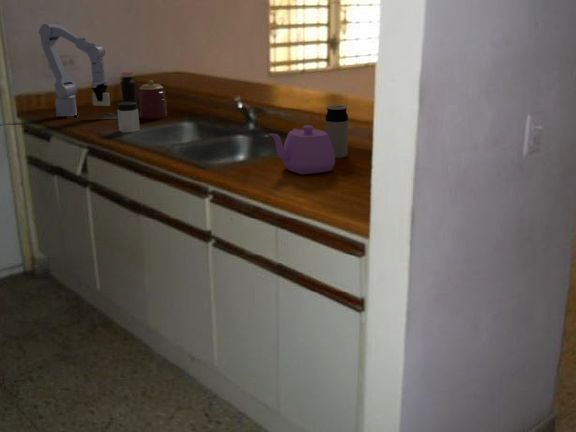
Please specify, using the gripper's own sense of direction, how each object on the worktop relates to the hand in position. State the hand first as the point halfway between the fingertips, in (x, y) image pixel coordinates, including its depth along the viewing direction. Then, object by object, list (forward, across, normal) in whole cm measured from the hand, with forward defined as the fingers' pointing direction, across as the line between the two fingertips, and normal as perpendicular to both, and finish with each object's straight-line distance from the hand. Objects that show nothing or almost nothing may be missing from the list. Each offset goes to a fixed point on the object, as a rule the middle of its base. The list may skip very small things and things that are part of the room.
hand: (100, 100), depth 324 cm
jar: (+8, -28, -24) cm, 38 cm away
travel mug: (+7, -66, -118) cm, 135 cm away
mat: (+8, +2, +1) cm, 9 cm away
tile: (+2, 0, 0) cm, 2 cm away
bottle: (+8, +15, -8) cm, 19 cm away
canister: (+8, +4, -24) cm, 26 cm away
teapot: (+8, -88, -110) cm, 140 cm away
